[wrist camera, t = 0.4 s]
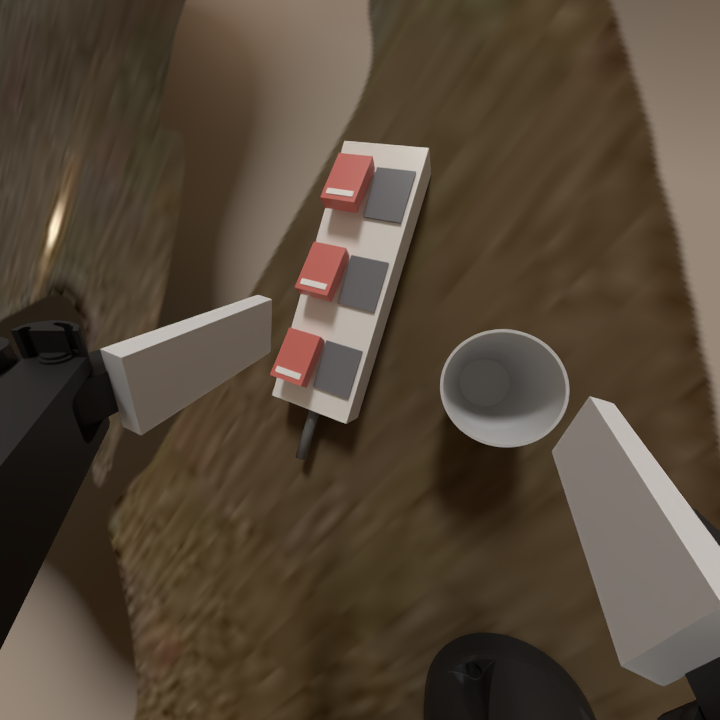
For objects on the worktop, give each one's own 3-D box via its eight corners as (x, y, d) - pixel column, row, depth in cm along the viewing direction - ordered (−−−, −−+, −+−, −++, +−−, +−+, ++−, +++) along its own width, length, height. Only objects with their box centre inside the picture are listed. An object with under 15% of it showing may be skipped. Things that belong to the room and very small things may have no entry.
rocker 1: (357, 212, 29) (353, 201, 27) (325, 207, 30) (319, 196, 28) (375, 168, 29) (372, 155, 28) (342, 165, 30) (338, 152, 29)
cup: (480, 438, 30) (497, 471, 20) (426, 378, 31) (416, 382, 22) (547, 386, 28) (600, 394, 19) (486, 325, 30) (504, 304, 20)
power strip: (342, 467, 34) (328, 480, 30) (277, 438, 36) (255, 447, 32) (431, 174, 32) (428, 145, 28) (355, 166, 34) (343, 138, 30)
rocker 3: (306, 388, 30) (300, 385, 28) (276, 377, 31) (269, 374, 29) (324, 340, 30) (320, 336, 29) (295, 331, 31) (289, 327, 30)
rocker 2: (331, 301, 29) (326, 295, 28) (300, 293, 30) (294, 287, 29) (349, 256, 30) (345, 247, 28) (318, 249, 31) (313, 241, 29)
